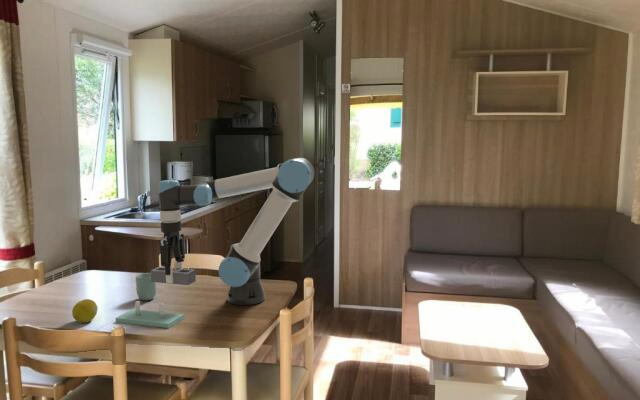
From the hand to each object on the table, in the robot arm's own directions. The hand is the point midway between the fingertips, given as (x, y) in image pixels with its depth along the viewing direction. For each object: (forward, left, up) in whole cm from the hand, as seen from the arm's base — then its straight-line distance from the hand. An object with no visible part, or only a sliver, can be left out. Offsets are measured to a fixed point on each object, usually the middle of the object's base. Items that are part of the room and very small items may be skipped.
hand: (174, 280), depth 199 cm
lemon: (+24, +20, -12) cm, 34 cm away
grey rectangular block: (0, 0, 0) cm, 1 cm away
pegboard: (+2, +13, -11) cm, 17 cm away
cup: (+18, -8, -12) cm, 23 cm away
